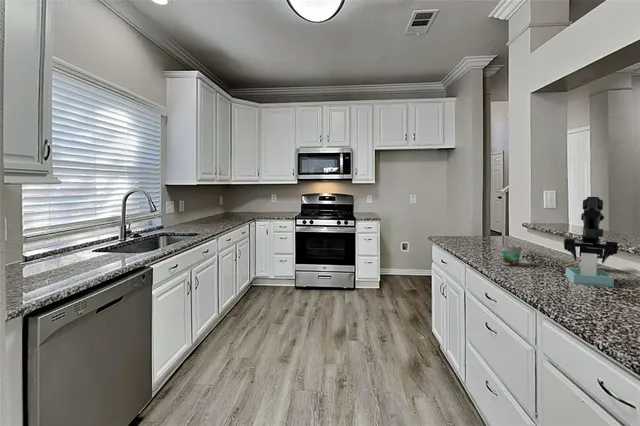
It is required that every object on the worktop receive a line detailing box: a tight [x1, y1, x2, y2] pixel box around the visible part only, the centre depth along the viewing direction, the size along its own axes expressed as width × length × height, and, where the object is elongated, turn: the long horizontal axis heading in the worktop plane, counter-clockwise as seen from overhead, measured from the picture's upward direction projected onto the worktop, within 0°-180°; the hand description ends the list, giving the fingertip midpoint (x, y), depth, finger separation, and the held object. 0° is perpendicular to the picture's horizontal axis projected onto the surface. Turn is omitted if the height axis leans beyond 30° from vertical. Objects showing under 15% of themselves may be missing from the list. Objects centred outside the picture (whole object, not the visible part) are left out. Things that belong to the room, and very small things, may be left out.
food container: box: [502, 244, 523, 267], centre depth 183 cm, size 12×6×10 cm, turn 123°
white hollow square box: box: [580, 253, 598, 276], centre depth 151 cm, size 5×5×11 cm
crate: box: [565, 267, 615, 288], centre depth 152 cm, size 14×14×4 cm
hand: (588, 261), depth 150 cm, fingers open, 9 cm apart
